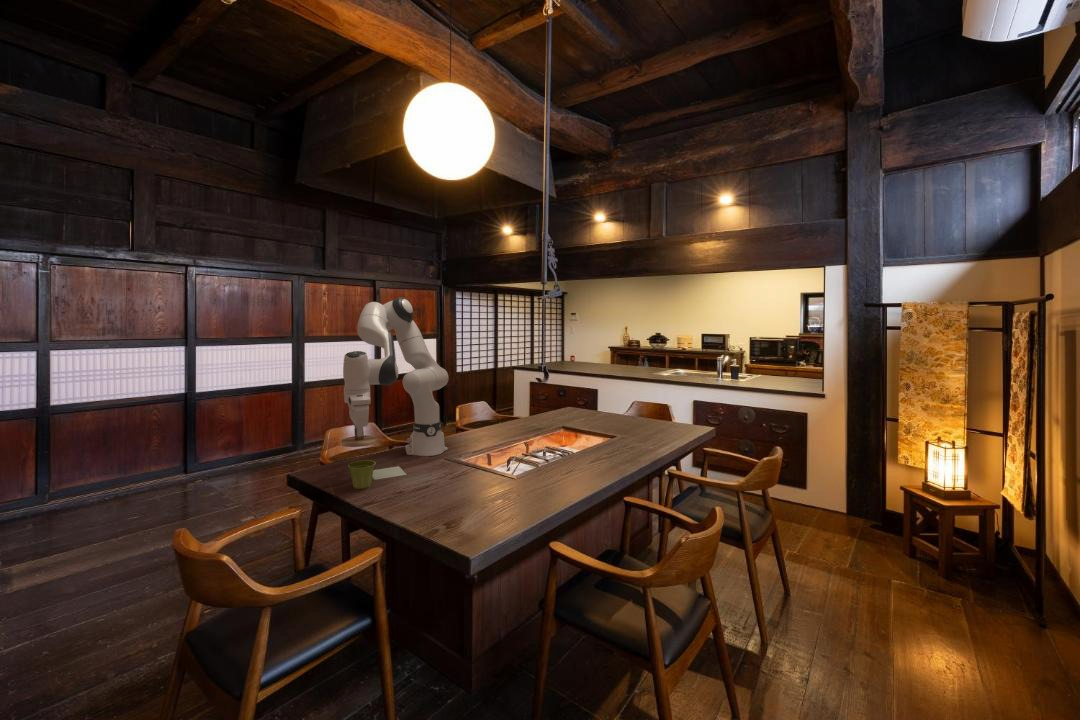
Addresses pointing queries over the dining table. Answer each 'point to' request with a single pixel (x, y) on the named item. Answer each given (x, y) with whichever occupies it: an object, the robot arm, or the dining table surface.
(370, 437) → the lid
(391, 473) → the mat
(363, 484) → the plant pot
